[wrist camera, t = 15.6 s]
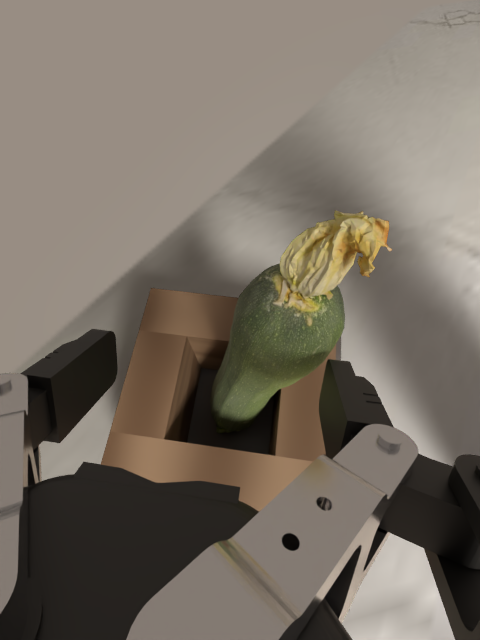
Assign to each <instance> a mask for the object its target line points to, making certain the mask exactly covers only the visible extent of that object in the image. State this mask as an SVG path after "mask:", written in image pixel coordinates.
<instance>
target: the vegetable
mask: <svg viewBox="0 0 480 640" xmlns="http://www.w3.org/2000/svg"><path fill="white" fill-rule="evenodd" d="M334 217H335V219H333V220H328V221H324V222H317V224H316V226H315V227H313V228H308V229H307V230H305V231H304V232H302V233H301V234H300V235H298V236H297V237H296V238H295V239H294V240H293V241H292V242H291V243H290V245H289V246H288V248H287V249H286V251H285V252H284V254H283V255H282V257H281V260H280V264H277V265H274V266H271V267H269V268H268V269H266V270H264V271H263V272H262V273H261V274H260V275H258V276H257V277H256V278H255V279H254V280H253V281H252V282H251V283H250V284H249V285H248V286H247V287H246V289H245V290H244V291H243V292H242V293H241V294H240V296H239V298H238V301H237V304H236V307H235V311H234V316H233V323H232V326H231V330H230V339H229V344H228V347H227V350H226V353H225V356H224V359H223V362H222V364H221V366H220V368H219V370H218V372H217V375H216V377H215V379H214V382H213V385H212V391H211V397H210V407H211V415H212V417H213V419H214V421H215V423H216V426H217V431H216V432H217V433H225V432H227V433H230V432H231V431H240V430H243V429H246V428H248V427H250V426H251V425H252V423H253V422H254V420H255V419H256V418H257V416H258V415H259V414H260V413H261V411H262V410H263V409H264V407H265V406H266V404H267V403H268V401H269V399H270V398H271V397H272V396H273V395H274V394H275V393H276V392H277V391H278V390H279V389H281V388H284V387H287V386H290V385H292V384H294V383H296V382H297V381H298V380H300V379H302V378H303V377H305V376H307V375H308V374H310V373H311V372H313V371H314V370H315V369H316V368H317V367H318V366H319V365H320V364H321V363H323V362H324V360H325V359H326V358H327V356H328V355H329V353H330V352H331V351H332V349H333V348H334V346H335V345H336V343H337V341H338V340H339V338H340V336H341V334H342V332H343V329H344V321H345V313H344V304H343V298H342V295H341V292H340V289H339V288H338V286H337V285H338V284H339V283H340V282H341V281H342V279H343V277H344V276H345V275H346V273H347V272H348V271H349V269H350V268H351V267H352V266H353V264H354V260H355V256H356V254H357V252H358V253H362V254H363V257H360V256H359V258H358V261H357V262H358V265H359V267H360V273H361V275H362V276H367V277H370V276H369V274H370V273H371V272H372V271H373V270H374V268H375V267H374V266H373V265H372V262H373V260H374V259H375V257H376V255H377V253H378V251H379V249H380V247H381V246H383V247H386V248H387V249H388V251H389V252H390V251H391V250H392V249H391V248H390V247H388V246H387V244H386V242H387V236H388V231H389V221H385V220H382V219H379V218H378V219H375V218H374V217H371V218H369V217H368V216H367V215H363V211H361V212H359V213H356V214H350V213H342V212H339V211H336V210H335V213H334Z"/></svg>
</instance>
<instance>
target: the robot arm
mask: <svg viewBox="0 0 480 640" xmlns="http://www.w3.org/2000/svg"><path fill="white" fill-rule="evenodd" d="M116 375H117V353H116V337H115V334H114V332H112V331H105V330H97V329H91V330H90V331H88V332H87V333H85V334H84V335H83V336H81V337H80V338H78V339H77V340H74V341H71V342H69V343H66V344H63V345H62V346H60V347H59V348H57V349H56V350H54V351H53V353H50V354H48V355H47V356H46V357H45V358H43V359H41V360H40V361H38V362H37V363H35V364H34V365H32V366H31V367H29V368H28V369H26V370H25V371H24V372H22V373H21V374H18V373H4V374H0V640H352V638H351V637H350V635H349V634H348V633H347V631H346V630H345V628H344V627H343V625H342V622H343V620H344V618H345V617H346V615H347V613H348V611H349V609H350V606H351V604H352V602H353V600H354V597H355V595H356V593H357V591H358V589H359V587H360V585H361V583H362V581H363V579H364V578H365V576H366V574H367V572H368V571H369V569H370V567H371V566H372V564H373V562H374V560H375V559H376V557H377V555H378V553H379V552H380V550H381V548H382V547H383V545H384V543H385V541H386V540H387V538H388V536H389V535H390V533H392V534H394V535H396V536H398V537H401V538H403V539H405V540H407V541H409V542H412V543H414V544H416V545H418V546H420V547H423V548H424V550H425V553H426V555H427V558H428V561H429V564H430V567H431V570H432V573H433V576H434V579H435V582H436V585H437V588H438V591H439V593H440V596H441V599H442V602H443V605H444V608H445V611H446V614H447V617H448V620H449V623H450V626H451V629H452V631H453V634H454V637H455V640H480V456H476V455H461V456H459V457H458V458H457V459H456V461H455V463H454V465H453V467H452V466H449V465H446V464H444V463H441V462H438V461H435V460H432V459H430V458H427V457H425V456H422V455H420V454H418V448H417V446H416V444H415V442H414V441H413V440H412V439H411V438H410V437H409V436H408V435H406V434H405V433H403V432H402V431H400V430H398V429H396V428H394V427H393V425H392V423H391V421H390V419H389V417H388V415H387V413H386V411H385V408H384V406H383V405H382V402H381V400H380V398H379V397H378V394H377V392H376V390H375V388H374V386H373V385H372V384H371V383H370V382H369V381H368V380H366V379H365V378H364V377H359V376H355V373H354V371H353V368H352V366H351V363H350V362H348V361H340V360H332V359H328V361H327V363H326V367H325V372H324V377H323V383H322V388H321V393H320V398H319V416H320V422H321V428H322V434H323V440H324V446H325V452H326V455H325V454H323V455H321V456H319V457H318V458H317V459H316V460H315V461H313V462H312V463H311V464H310V465H309V466H308V467H307V468H306V469H305V470H304V471H303V472H302V473H301V474H300V475H298V476H297V477H296V478H295V479H294V480H293V481H292V482H291V483H290V484H289V485H288V486H287V487H286V488H284V489H283V490H282V491H281V492H280V493H279V494H278V495H277V496H276V497H275V498H274V499H273V500H272V501H271V502H269V503H268V504H267V505H266V506H265V507H264V508H263V509H262V510H261V511H260V512H259V511H257V510H256V509H255V508H253V507H251V506H249V505H248V504H246V503H243V502H241V501H239V494H240V487H237V486H231V485H225V484H219V483H213V482H206V481H184V482H166V483H157V482H153V481H151V480H148V479H146V478H144V477H141V476H139V475H137V474H134V473H132V472H130V471H127V470H125V469H123V468H119V467H113V466H107V465H100V464H94V463H88V462H83V464H82V465H81V466H80V468H79V469H78V470H77V472H76V473H75V474H73V475H65V476H59V477H55V478H50V479H47V480H44V481H42V477H41V455H40V448H39V444H40V443H41V442H42V441H49V442H56V443H60V442H61V441H62V440H63V439H64V438H65V437H66V436H67V435H68V434H69V432H70V431H71V430H72V429H73V428H74V427H75V426H76V425H77V423H78V422H79V421H80V420H81V419H82V418H83V417H84V416H85V415H86V413H87V412H88V411H89V410H90V409H91V408H92V407H93V406H94V405H95V403H96V402H97V401H98V400H99V399H100V398H101V397H102V396H103V394H104V393H105V392H106V391H107V390H108V389H109V388H110V387H111V386H112V384H113V383H114V381H115V379H116Z"/></svg>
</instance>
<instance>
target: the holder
mask: <svg viewBox="0 0 480 640" xmlns="http://www.w3.org/2000/svg"><path fill="white" fill-rule="evenodd" d="M237 301H238V298H234V297H225V296H216V295H208V294H199V293H190V292H181V291H172V290H163V289H155V288H151V290H150V293H149V297H148V300H147V304H146V307H145V311H144V314H143V318H142V321H141V325H140V328H139V332H138V336H137V339H136V343H135V346H134V350H133V353H132V357H131V360H130V364H129V367H128V371H127V374H126V378H125V381H124V385H123V388H122V392H121V395H120V399H119V402H118V406H117V409H116V413H115V416H114V420H113V423H112V427H111V430H110V434H109V437H108V441H107V444H106V448H105V451H104V455H103V458H102V462H101V465H107V466H113V467H119V468H123V469H125V470H127V471H130V472H132V473H134V474H137V475H139V476H141V477H144V478H146V479H148V480H151V481H153V482H157V483H166V482H184V481H206V482H213V483H219V484H225V485H231V486H237V487H240V494H239V501H241V502H243V503H246V504H248V505H249V506H251V507H253V508H255V509H256V510H257V511H259V512H260V511H261V510H262V509H263V508H264V507H265V506H266V505H267V504H268V503H269V502H271V501H272V500H273V499H274V498H275V497H276V496H277V495H278V494H279V493H280V492H281V491H282V490H283V489H284V488H286V487H287V486H288V485H289V484H290V483H291V482H292V481H293V480H294V479H295V478H296V477H297V476H298V475H300V474H301V473H302V472H303V471H304V470H305V469H306V468H307V467H308V466H309V465H310V464H311V463H312V462H313V461H315V460H316V459H317V458H318V457H319V456H321V455H323V454H325V455H326V452H325V446H324V440H323V434H322V428H321V422H320V416H319V398H320V393H321V388H322V383H323V377H324V372H325V367H326V363H327V361H328V359H332V360H340V361H341V336H340V338H339V340H338V341H337V343H336V345H335V346H334V348H333V349H332V351H331V352H330V353H329V355H328V356H327V358H326V359H325V360H324V362H323V363H321V364H320V365H319V366H318V367H317V368H316V369H315V370H314V371H313V372H311V373H310V374H308V375H307V376H305V377H303V378H302V379H300V380H298V381H297V382H296V383H294V384H292V385H290V386H287V387H284V388H281V389H279V390H278V391H277V392H276V393H275V394H274V395H273V396H272V397H271V398H270V399H269V401H268V403H267V404H266V406H265V407H264V409H263V410H262V411H261V413H260V414H259V415H258V416H257V418H256V419H255V420H254V422H253V423H252V425H251V426H250V427H248V428H246V429H243V430H240V431H231V432H230V433H227V432H225V433H217V432H216V431H217V426H216V423H215V421H214V419H213V417H212V415H211V407H210V397H211V391H212V385H213V382H214V379H215V377H216V375H217V372H218V370H219V368H220V366H221V364H222V362H223V359H224V356H225V353H226V350H227V347H228V344H229V339H230V330H231V326H232V323H233V316H234V311H235V307H236V304H237Z"/></svg>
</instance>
